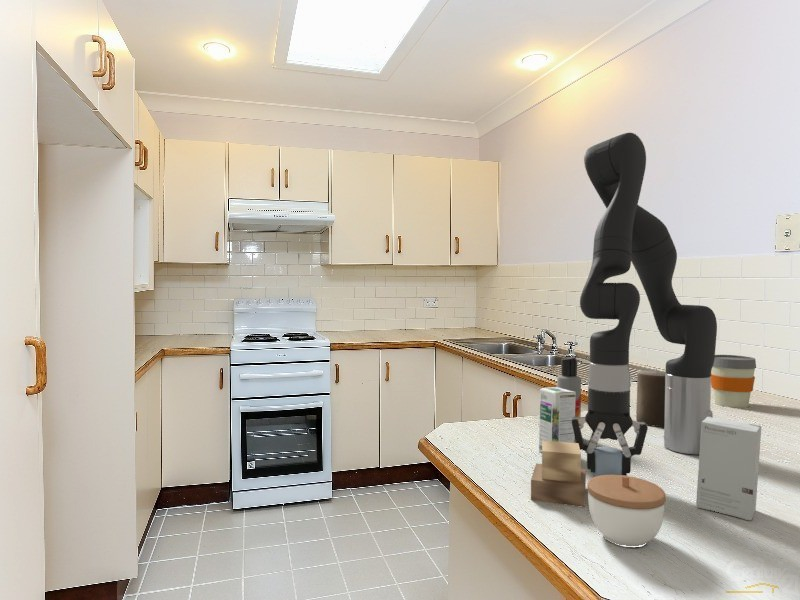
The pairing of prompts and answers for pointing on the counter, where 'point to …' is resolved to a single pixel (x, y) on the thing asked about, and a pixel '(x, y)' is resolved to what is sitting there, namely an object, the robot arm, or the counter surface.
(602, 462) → the blue rounded cylinder
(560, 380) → the lotion bottle
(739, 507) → the skincare box
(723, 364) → the reusable coffee cup
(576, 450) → the oak block
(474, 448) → the counter surface
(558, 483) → the walnut slab
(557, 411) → the syrup box
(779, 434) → the counter surface
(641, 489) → the lidded jar
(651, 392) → the pillar candle
